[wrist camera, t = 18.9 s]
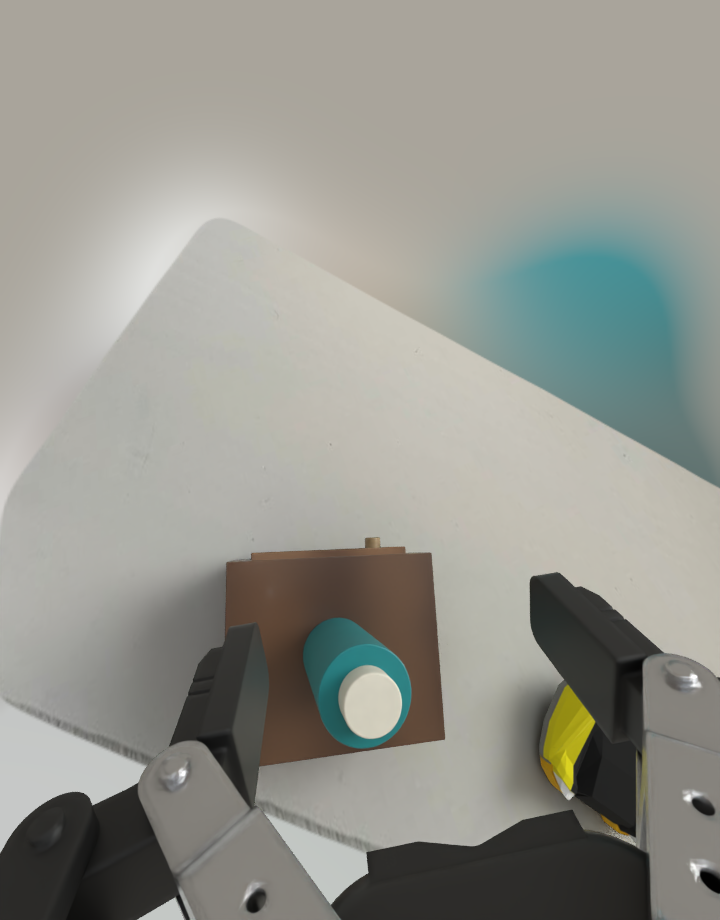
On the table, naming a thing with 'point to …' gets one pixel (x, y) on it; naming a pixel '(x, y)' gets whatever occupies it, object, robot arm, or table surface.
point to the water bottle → (356, 683)
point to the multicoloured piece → (589, 762)
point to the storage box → (337, 596)
